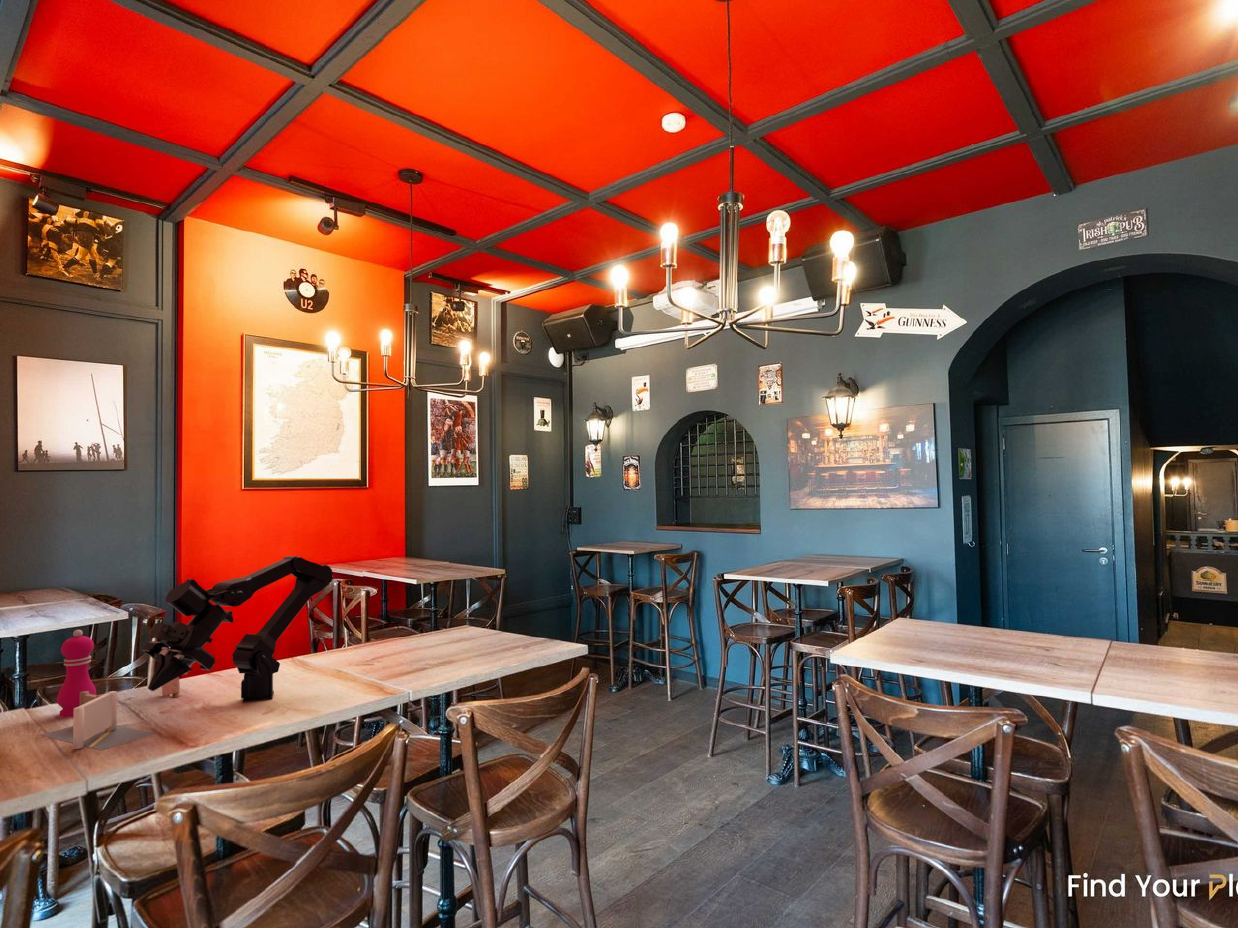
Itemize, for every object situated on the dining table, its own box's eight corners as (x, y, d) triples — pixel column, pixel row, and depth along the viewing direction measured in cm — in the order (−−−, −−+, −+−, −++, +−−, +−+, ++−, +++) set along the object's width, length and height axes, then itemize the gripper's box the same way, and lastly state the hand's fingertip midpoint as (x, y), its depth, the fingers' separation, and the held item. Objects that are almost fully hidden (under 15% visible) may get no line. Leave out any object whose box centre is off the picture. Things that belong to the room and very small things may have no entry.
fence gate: (108, 728, 144) (108, 691, 145) (118, 727, 145) (119, 690, 145) (69, 749, 132) (70, 709, 132) (81, 748, 132) (81, 708, 133)
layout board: (39, 738, 142) (39, 701, 142) (94, 723, 151) (94, 688, 151) (100, 754, 132) (100, 714, 132) (155, 737, 141) (155, 699, 141)
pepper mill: (91, 709, 162) (92, 625, 163) (100, 714, 157) (101, 628, 158) (53, 717, 156) (54, 630, 157) (60, 723, 152) (62, 634, 153)
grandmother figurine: (181, 692, 175) (181, 643, 175) (189, 694, 173) (189, 644, 173) (148, 700, 168) (148, 649, 169) (156, 702, 166) (156, 650, 167)
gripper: (150, 605, 155) (96, 666, 145) (201, 609, 147) (147, 674, 136) (185, 633, 162) (136, 692, 151) (235, 638, 153) (187, 701, 143)
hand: (150, 689), depth 145 cm, fingers closed
